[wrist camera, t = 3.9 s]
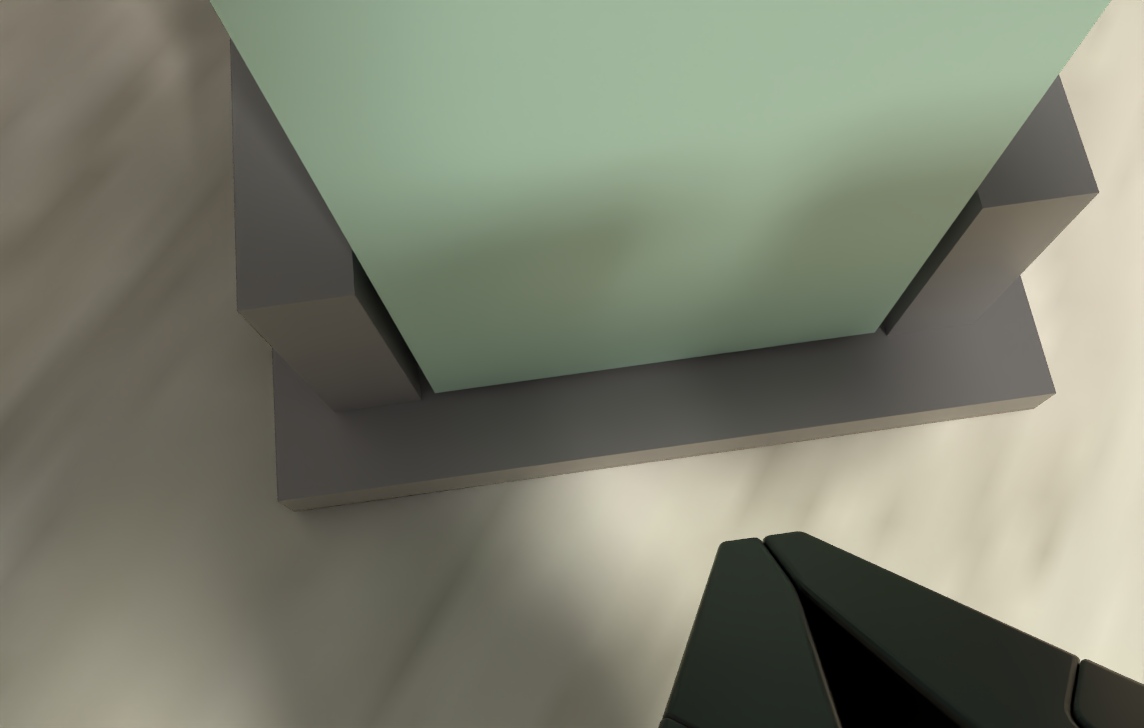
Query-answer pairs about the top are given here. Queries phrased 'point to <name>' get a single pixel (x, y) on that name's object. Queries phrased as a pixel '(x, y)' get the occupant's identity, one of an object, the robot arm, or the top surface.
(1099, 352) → the top surface
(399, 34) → the pale green tall block
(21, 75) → the top surface
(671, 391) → the switch housing
